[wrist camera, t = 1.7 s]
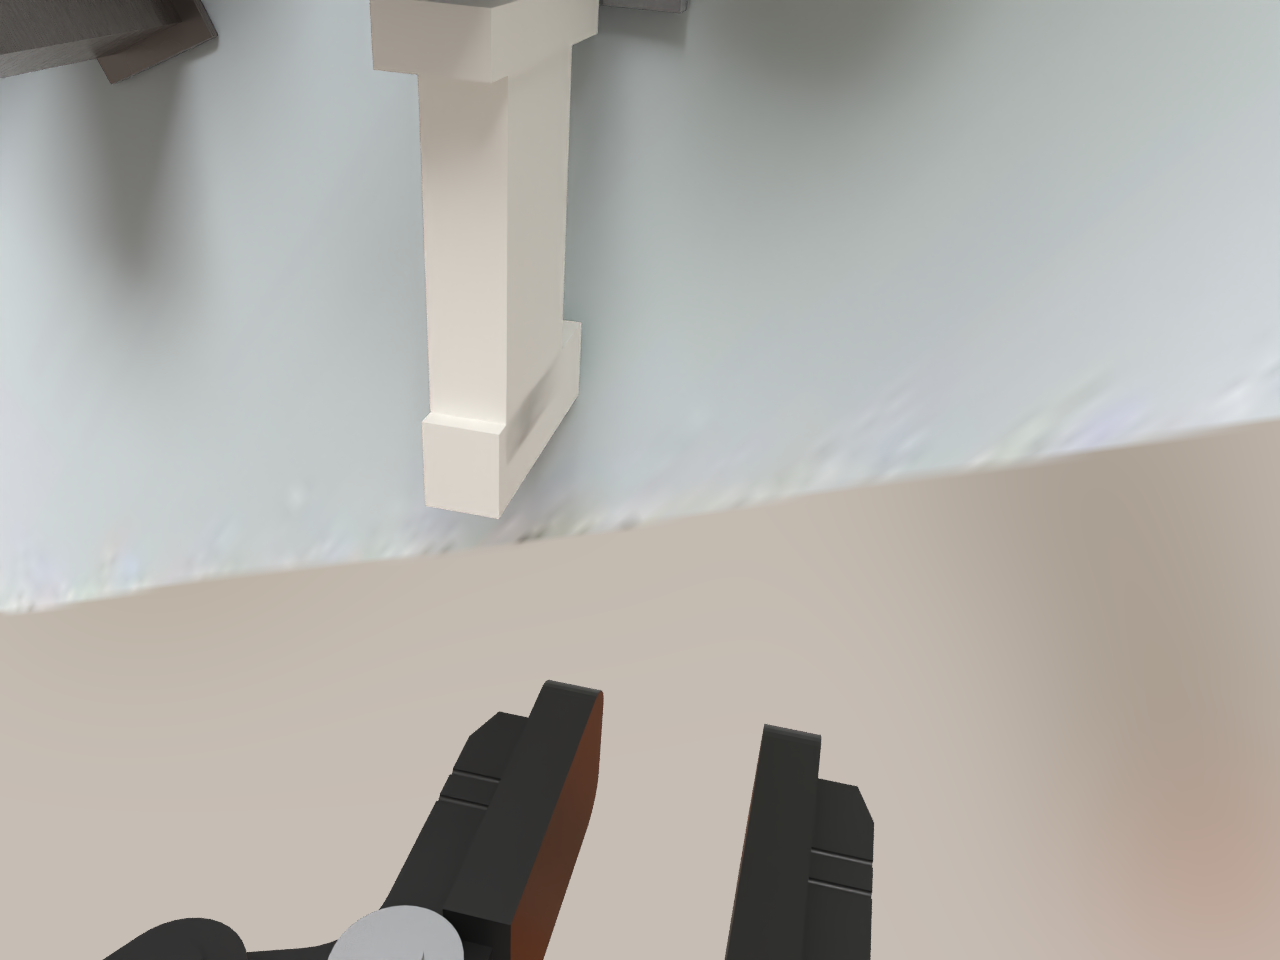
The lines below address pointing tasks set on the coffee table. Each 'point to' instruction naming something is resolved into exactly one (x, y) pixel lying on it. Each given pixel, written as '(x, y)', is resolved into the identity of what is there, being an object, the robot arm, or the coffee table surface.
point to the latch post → (98, 33)
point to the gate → (491, 231)
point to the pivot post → (649, 4)
